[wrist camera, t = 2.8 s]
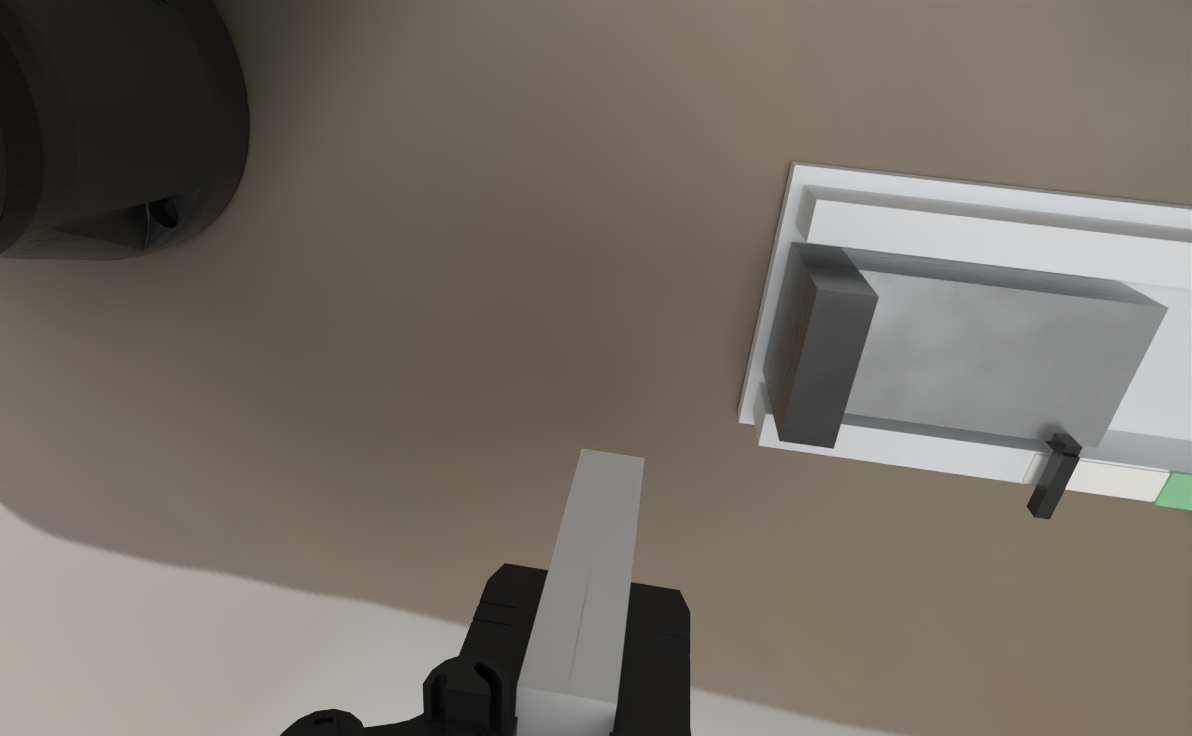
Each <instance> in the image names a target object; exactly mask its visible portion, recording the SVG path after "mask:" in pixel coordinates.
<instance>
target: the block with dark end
mask: <svg viewBox="0 0 1192 736" xmlns="http://www.w3.org/2000/svg"><path fill="white" fill-rule="evenodd" d="M1168 309H1169V308H1168V307H1166V306H1164V305H1162V304H1160V303H1158V302H1157V301H1155V300H1153V299H1151V298H1149V297H1147V296H1146V295H1144V294H1142V293H1140V292H1138V291H1136V290H1134V289H1133V288H1131V287H1129V286H1127V285H1125V284H1123V283H1121V282H1118V281H1110V280H1102V279H1093V278H1085V277H1077V276H1069V275H1061V274H1052V273H1044V272H1036V271H1028V270H1019V269H1011V268H1003V267H995V266H987V265H978V264H970V263H962V262H954V261H945V260H937V259H929V258H921V257H912V256H904V255H896V254H888V253H880V252H871V251H863V250H855V249H847V248H838V247H830V246H822V245H814V244H806V243H797V242H792V245H791V249H790V254H789V258H788V262H787V267H786V271H785V275H784V280H783V284H782V289H781V293H780V297H779V302H778V306H777V311H776V315H775V319H774V324H773V328H772V333H771V337H770V341H769V346H768V350H767V354H766V359H765V363H764V368H763V374H764V378H765V383H766V387H767V391H768V395H769V400H770V404H771V408H772V412H773V417H774V421H775V425H776V429H777V434H778V438H779V441H782V442H789V443H796V444H803V445H810V446H817V447H824V448H831V449H834V446H835V442H836V439H837V436H838V432H839V429H840V426H841V422H842V419H843V416H844V413H849V414H856V415H863V416H870V417H878V418H885V419H892V420H899V421H907V422H914V423H921V424H928V425H935V426H943V427H950V428H957V429H964V430H972V431H979V432H986V433H993V434H1000V435H1008V436H1015V437H1022V438H1029V439H1037V440H1044V441H1045V442H1046V443H1047V444H1048V445H1049V446H1050V447H1051V448H1052V450H1053V452H1052V454H1051V456H1050V458H1049V460H1048V463H1047V465H1046V467H1045V469H1044V471H1043V473H1042V475H1041V477H1040V479H1039V482H1038V484H1037V486H1036V488H1035V490H1034V492H1033V494H1032V496H1031V498H1030V501H1029V503H1028V505H1027V508H1028V509H1029V510H1030V512H1031V513H1032V515H1033V516H1034V517H1036V518H1043V519H1050V518H1051V516H1052V514H1053V512H1054V510H1055V508H1056V506H1057V504H1058V502H1059V500H1060V498H1061V496H1062V494H1063V492H1064V490H1065V488H1066V486H1067V484H1068V482H1069V480H1070V478H1071V476H1072V474H1073V472H1074V470H1075V468H1076V466H1077V464H1078V462H1079V460H1080V457H1079V454H1080V452H1081V450H1082V448H1083V447H1082V446H1087V447H1094V448H1098V446H1099V444H1100V442H1101V440H1102V438H1103V436H1104V434H1105V432H1106V430H1107V429H1108V427H1109V425H1110V423H1111V421H1112V419H1113V417H1114V415H1115V413H1116V411H1117V409H1118V407H1119V405H1120V403H1121V401H1122V399H1123V397H1124V395H1125V393H1126V391H1127V389H1128V387H1129V385H1130V383H1131V381H1132V379H1133V377H1134V375H1135V374H1136V372H1137V370H1138V368H1139V366H1140V364H1141V362H1142V360H1143V358H1144V356H1145V354H1146V352H1147V350H1148V348H1149V346H1150V344H1151V342H1152V340H1153V338H1154V336H1155V334H1156V332H1157V330H1158V328H1159V326H1160V324H1161V322H1162V320H1163V318H1164V317H1165V315H1166V313H1167V311H1168Z"/></svg>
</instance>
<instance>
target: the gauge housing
mask: <svg viewBox="0 0 1192 736" xmlns="http://www.w3.org/2000/svg"><path fill="white" fill-rule="evenodd" d="M792 242H797V243H806V244H814V245H822V246H830V247H838V248H847V249H855V250H863V251H871V252H880V253H888V254H896V255H904V256H912V257H921V258H929V259H937V260H945V261H954V262H962V263H970V264H978V265H987V266H995V267H1003V268H1011V269H1019V270H1028V271H1036V272H1044V273H1052V274H1061V275H1069V276H1077V277H1085V278H1093V279H1102V280H1110V281H1118V282H1121V283H1123V284H1125V285H1127V286H1129V287H1131V288H1133V289H1134V290H1136V291H1138V292H1140V293H1142V294H1144V295H1146V296H1147V297H1149V298H1151V299H1153V300H1155V301H1157V302H1158V303H1160V304H1162V305H1164V306H1166V307H1168V308H1169V309H1168V311H1167V313H1166V315H1165V317H1164V318H1163V320H1162V322H1161V324H1160V326H1159V328H1158V330H1157V332H1156V334H1155V336H1154V338H1153V340H1152V342H1151V344H1150V346H1149V348H1148V350H1147V352H1146V354H1145V356H1144V358H1143V360H1142V362H1141V364H1140V366H1139V368H1138V370H1137V372H1136V374H1135V375H1134V377H1133V379H1132V381H1131V383H1130V385H1129V387H1128V389H1127V391H1126V393H1125V395H1124V397H1123V399H1122V401H1121V403H1120V405H1119V407H1118V409H1117V411H1116V413H1115V415H1114V417H1113V419H1112V421H1111V423H1110V425H1109V427H1108V429H1107V430H1106V432H1105V434H1104V436H1103V438H1102V440H1101V442H1100V444H1099V446H1098V448H1094V447H1087V446H1082V447H1083V448H1082V450H1081V452H1080V454H1079V457H1080V460H1079V462H1078V464H1077V466H1076V468H1075V470H1074V472H1073V474H1072V476H1071V478H1070V480H1069V482H1068V484H1067V486H1066V488H1065V489H1066V490H1073V491H1080V492H1087V493H1094V494H1101V495H1108V496H1115V497H1122V498H1129V499H1136V500H1143V501H1150V502H1152V503H1153V504H1154V505H1158V506H1165V507H1172V508H1179V509H1186V510H1192V206H1185V205H1176V204H1167V203H1159V202H1150V201H1141V200H1132V199H1123V198H1114V197H1106V196H1097V195H1088V194H1079V193H1070V192H1061V191H1053V190H1044V189H1035V188H1026V187H1017V186H1008V185H1000V184H991V183H982V182H973V181H964V180H955V179H947V178H938V177H929V176H920V175H911V174H902V173H894V172H885V171H876V170H867V169H858V168H849V167H841V166H832V165H823V164H814V163H805V162H796V161H792V162H791V166H790V171H789V176H788V180H787V185H786V189H785V194H784V199H783V203H782V208H781V213H780V217H779V222H778V227H777V231H776V236H775V240H774V245H773V250H772V254H771V259H770V264H769V268H768V273H767V278H766V282H765V287H764V291H763V296H762V301H761V305H760V310H759V315H758V319H757V324H756V329H755V333H754V338H753V342H752V347H751V352H750V356H749V361H748V366H747V370H746V375H745V380H744V384H743V389H742V393H741V398H740V403H739V407H738V412H737V413H738V420H739V423H745V424H752V425H755V430H756V435H757V441H758V445H759V446H766V447H773V448H780V449H787V450H794V451H801V452H808V453H814V454H821V455H828V456H835V457H842V458H849V459H856V460H863V461H870V462H877V463H884V464H891V465H898V466H905V467H912V468H919V469H926V470H933V471H940V472H947V473H954V474H961V475H968V476H975V477H982V478H989V479H996V480H1003V481H1010V482H1017V483H1024V484H1031V485H1037V484H1038V482H1039V479H1040V477H1041V475H1042V473H1043V471H1044V469H1045V467H1046V465H1047V463H1048V460H1049V458H1050V456H1051V454H1052V452H1053V450H1052V448H1051V447H1050V446H1049V445H1048V444H1047V443H1046V442H1045V441H1044V440H1037V439H1029V438H1022V437H1015V436H1008V435H1000V434H993V433H986V432H979V431H972V430H964V429H957V428H950V427H943V426H935V425H928V424H921V423H914V422H907V421H899V420H892V419H885V418H878V417H870V416H863V415H856V414H849V413H844V416H843V419H842V422H841V426H840V429H839V432H838V436H837V439H836V442H835V446H834V449H831V448H824V447H817V446H810V445H803V444H796V443H789V442H782V441H779V438H778V434H777V429H776V425H775V421H774V417H773V412H772V408H771V404H770V400H769V395H768V391H767V387H766V383H765V378H764V374H763V368H764V363H765V359H766V354H767V350H768V346H769V341H770V337H771V333H772V328H773V324H774V319H775V315H776V311H777V306H778V302H779V297H780V293H781V289H782V284H783V280H784V275H785V271H786V267H787V262H788V258H789V254H790V249H791V245H792Z"/></svg>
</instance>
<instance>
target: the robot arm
mask: <svg viewBox="0 0 1192 736" xmlns="http://www.w3.org/2000/svg"><path fill="white" fill-rule="evenodd" d="M247 142H248V111H247V101H246V94H245V88H244V83H243V79H242V75H241V70H240V67H239V64H238V60H237V57H236V54H235V51H234V48H233V46H232V43H231V40H230V38H229V36H228V33H227V31H226V29H225V26H224V24H223V22H222V20H221V18H220V16H219V14H218V12H217V10H216V9H215V7H214V5H213V3H212V2H211V0H0V258H16V259H62V260H120V259H127V258H133V257H138V256H142V255H146V254H149V253H152V252H155V251H157V250H160V249H163V248H165V247H168V246H171V245H173V244H176V243H178V242H181V241H183V240H186V239H188V238H190V237H192V236H194V235H195V234H197V233H199V232H200V231H201V230H203V229H204V228H206V227H207V226H208V225H209V224H210V223H211V222H212V221H214V220H215V219H216V217H217V216H218V215H219V214H220V213H221V212H222V210H223V209H224V208H225V206H226V205H227V204H228V202H229V200H230V199H231V197H232V195H233V193H234V191H235V189H236V187H237V184H238V182H239V179H240V176H241V173H242V170H243V166H244V162H245V157H246V151H247ZM644 459H645V458H642V457H635V456H629V455H622V454H615V453H609V452H602V451H595V450H589V449H581V453H580V457H579V460H578V464H577V468H576V471H575V475H574V479H573V482H572V486H571V490H570V493H569V497H568V501H567V504H566V508H565V512H564V515H563V519H562V523H561V526H560V530H559V534H558V537H557V541H556V545H555V548H554V552H553V556H552V559H551V563H550V567H549V570H543V569H537V568H531V567H525V566H519V565H512V564H506V563H505V564H504V565H503V566H502V567H501V568H500V569H499V570H497V571H496V572H495V573H494V574H493V575H492V576H491V577H490V578H489V579H488V581H487V583H486V586H485V589H484V591H483V594H482V596H481V599H480V603H479V605H478V607H477V609H476V612H475V615H474V617H473V622H472V623H471V625H470V628H469V630H468V633H467V636H466V639H465V641H464V644H463V646H462V649H461V652H460V654H459V656H457V657H454V658H451V659H448V660H445V661H444V662H443V663H441V664H440V665H439V666H437V667H436V668H435V669H433V670H432V671H431V672H430V674H429V676H428V677H427V678H426V680H425V681H424V683H423V705H424V713H423V714H421V715H419V716H417V717H415V718H413V719H410V720H408V721H403V722H399V723H395V724H387V725H380V726H373V727H365V728H364V727H363V725H362V722H361V721H360V720H359V719H357V718H356V717H355V716H354V715H352V714H351V713H350V712H345V711H341V710H337V709H329V710H322V711H315V712H313V713H311V714H309V715H307V716H304V717H302V718H300V719H298V720H297V721H296V722H295V723H293V724H292V725H291V726H290V727H289V728H287V729H286V730H285V731H284V732H283V733H282V734H281V735H280V736H691V730H690V611H689V608H688V606H687V604H686V602H685V600H684V598H683V596H682V594H681V592H680V590H675V589H669V588H663V587H657V586H651V585H645V584H638V583H632V582H631V575H632V566H633V557H634V548H635V539H636V531H637V522H638V513H639V504H640V495H641V486H642V477H643V468H644Z"/></svg>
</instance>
